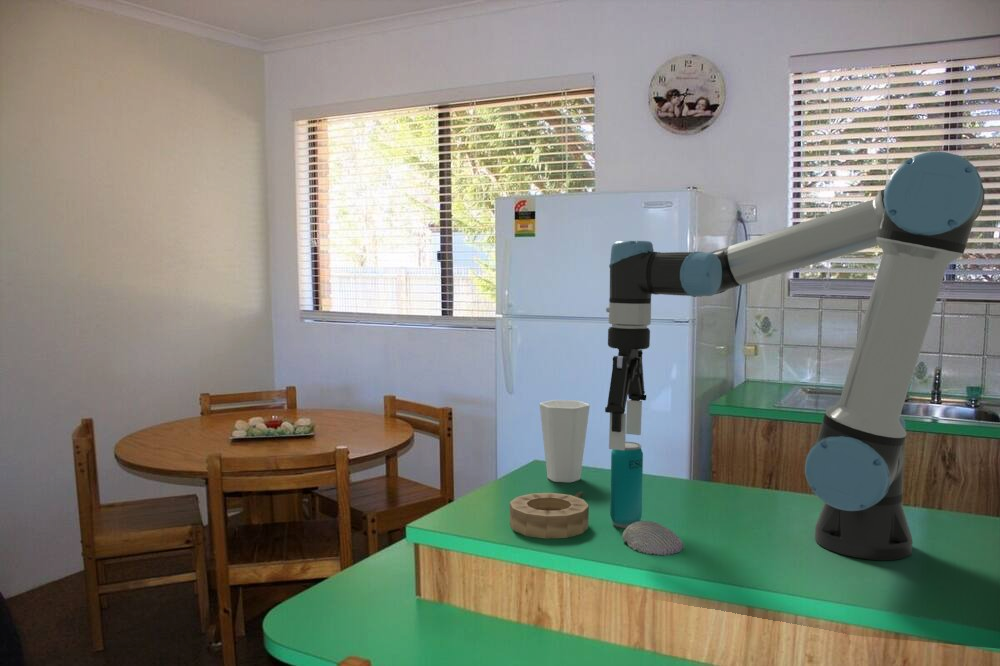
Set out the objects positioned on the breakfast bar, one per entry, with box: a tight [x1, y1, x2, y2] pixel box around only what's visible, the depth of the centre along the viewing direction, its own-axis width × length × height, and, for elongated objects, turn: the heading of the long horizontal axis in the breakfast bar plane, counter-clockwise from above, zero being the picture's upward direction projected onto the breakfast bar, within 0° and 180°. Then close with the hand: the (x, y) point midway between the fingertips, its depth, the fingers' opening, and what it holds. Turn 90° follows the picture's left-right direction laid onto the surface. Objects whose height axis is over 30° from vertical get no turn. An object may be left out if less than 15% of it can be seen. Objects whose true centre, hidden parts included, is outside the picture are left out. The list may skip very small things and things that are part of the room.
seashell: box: [622, 520, 685, 556], centre depth 132 cm, size 10×6×10 cm
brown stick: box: [573, 491, 583, 499], centre depth 155 cm, size 1×14×1 cm, turn 159°
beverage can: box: [609, 441, 644, 529], centre depth 142 cm, size 6×6×15 cm
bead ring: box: [509, 492, 590, 540], centre depth 142 cm, size 14×14×4 cm
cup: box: [539, 399, 590, 483], centre depth 173 cm, size 11×10×17 cm
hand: (625, 441), depth 142 cm, fingers open, 13 cm apart
